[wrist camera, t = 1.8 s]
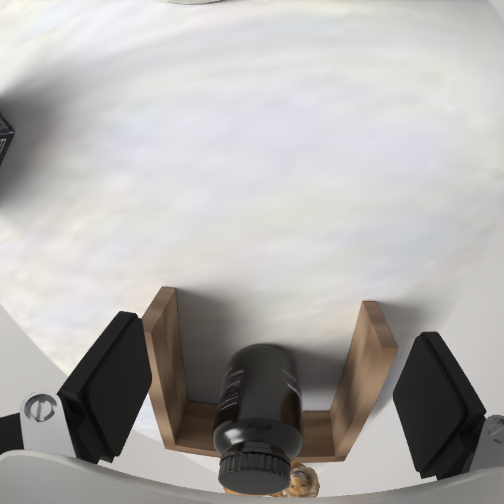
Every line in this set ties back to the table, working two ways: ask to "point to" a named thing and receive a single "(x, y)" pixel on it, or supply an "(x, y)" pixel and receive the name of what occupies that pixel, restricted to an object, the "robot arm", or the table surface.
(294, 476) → the lion figurine
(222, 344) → the table surface
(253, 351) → the supplement bottle
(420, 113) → the table surface
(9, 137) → the small box
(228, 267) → the table surface
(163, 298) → the walnut u-shaped bracket
